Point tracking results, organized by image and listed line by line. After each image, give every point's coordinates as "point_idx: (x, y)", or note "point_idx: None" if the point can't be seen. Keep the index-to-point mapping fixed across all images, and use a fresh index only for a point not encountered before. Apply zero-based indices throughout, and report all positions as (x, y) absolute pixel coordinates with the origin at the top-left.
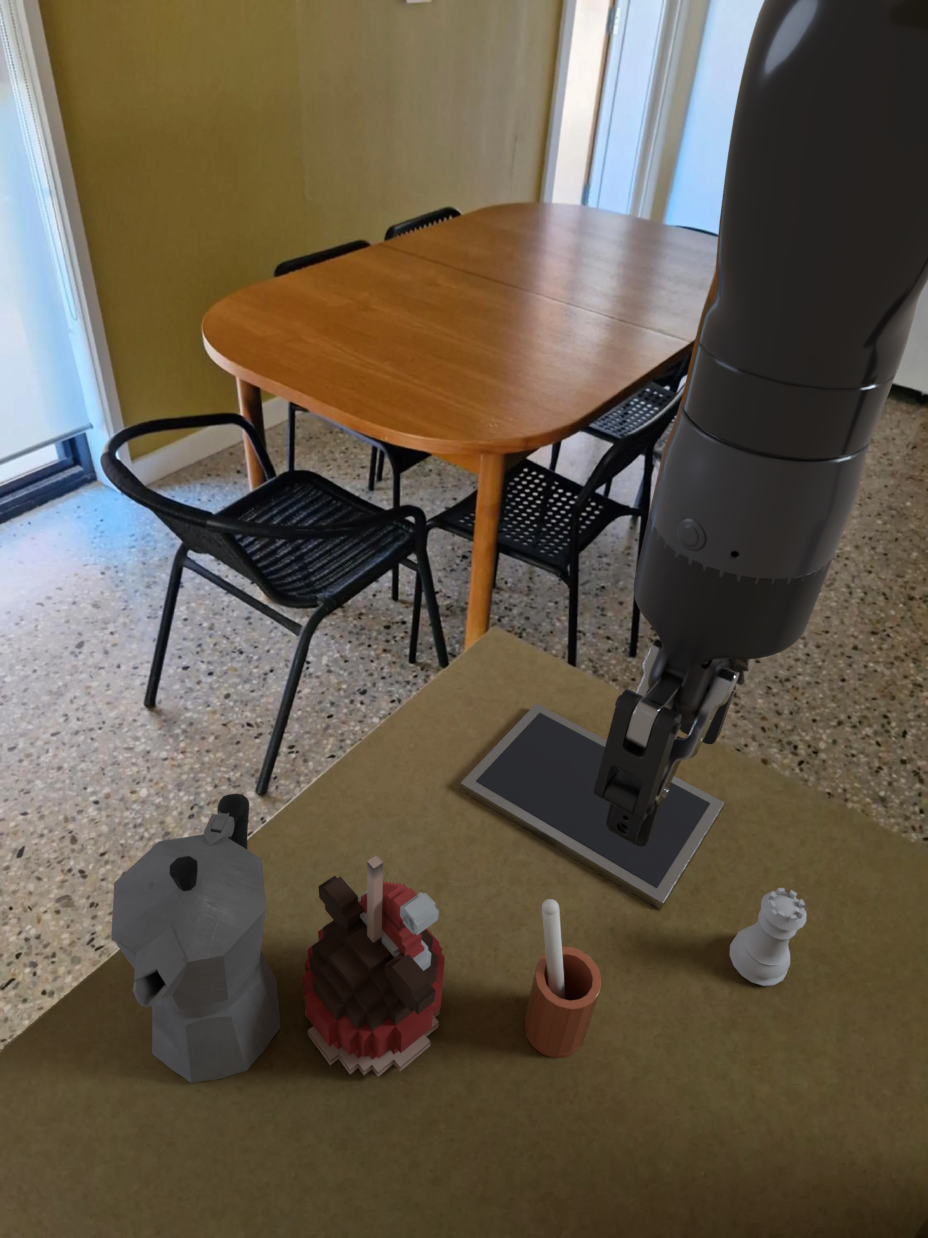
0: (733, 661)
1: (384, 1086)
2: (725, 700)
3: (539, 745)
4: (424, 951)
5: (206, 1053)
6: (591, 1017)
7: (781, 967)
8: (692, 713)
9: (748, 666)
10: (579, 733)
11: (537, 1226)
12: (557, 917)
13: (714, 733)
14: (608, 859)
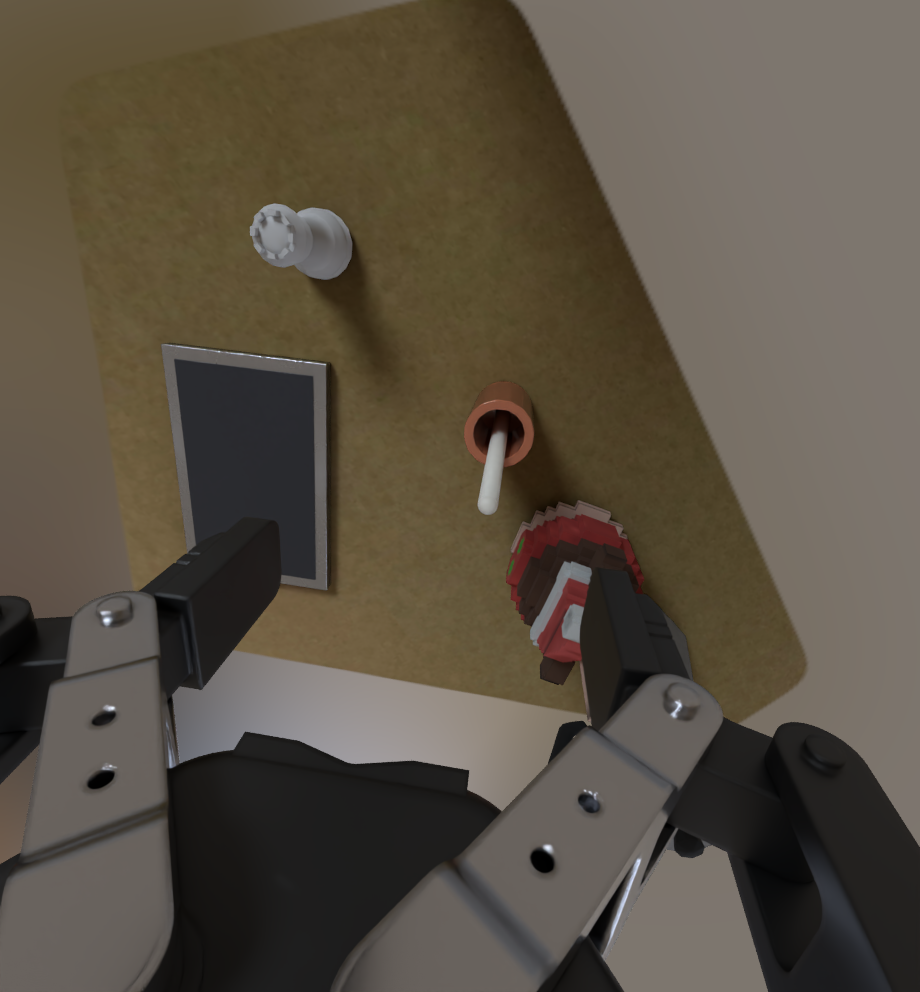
0: (181, 924)
1: (621, 514)
2: (481, 939)
3: None
4: (569, 577)
5: (681, 650)
6: (499, 389)
7: (323, 216)
8: (595, 961)
9: (167, 893)
10: (192, 517)
11: (672, 353)
12: (490, 491)
13: (260, 538)
14: (313, 433)
